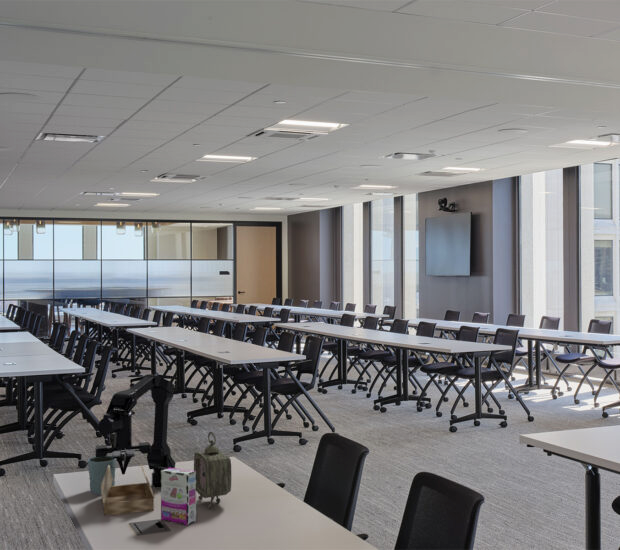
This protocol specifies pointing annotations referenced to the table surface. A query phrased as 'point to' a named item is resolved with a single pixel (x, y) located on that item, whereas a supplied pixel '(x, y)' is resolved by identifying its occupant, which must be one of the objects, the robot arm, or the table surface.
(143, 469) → the flap
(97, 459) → the teal cup
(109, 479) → the flap
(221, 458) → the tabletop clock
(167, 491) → the candy bar box
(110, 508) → the carton
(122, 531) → the table surface
